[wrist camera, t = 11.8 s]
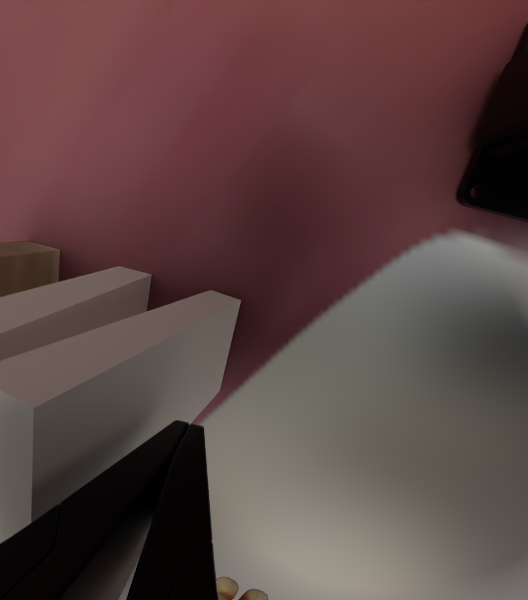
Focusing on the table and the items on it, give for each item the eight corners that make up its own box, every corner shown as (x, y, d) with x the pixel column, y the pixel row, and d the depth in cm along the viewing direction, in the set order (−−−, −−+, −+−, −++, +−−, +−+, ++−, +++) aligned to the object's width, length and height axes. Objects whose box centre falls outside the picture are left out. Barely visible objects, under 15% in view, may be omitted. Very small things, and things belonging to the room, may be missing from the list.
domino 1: (151, 274, 13) (-92, 369, 5) (139, 365, 15) (-69, 569, 6) (119, 265, 13) (-185, 345, 5) (109, 357, 15) (-140, 550, 6)
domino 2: (241, 300, 13) (33, 407, 5) (219, 391, 14) (29, 602, 6) (210, 289, 13) (-33, 372, 5) (192, 379, 15) (-23, 562, 6)
